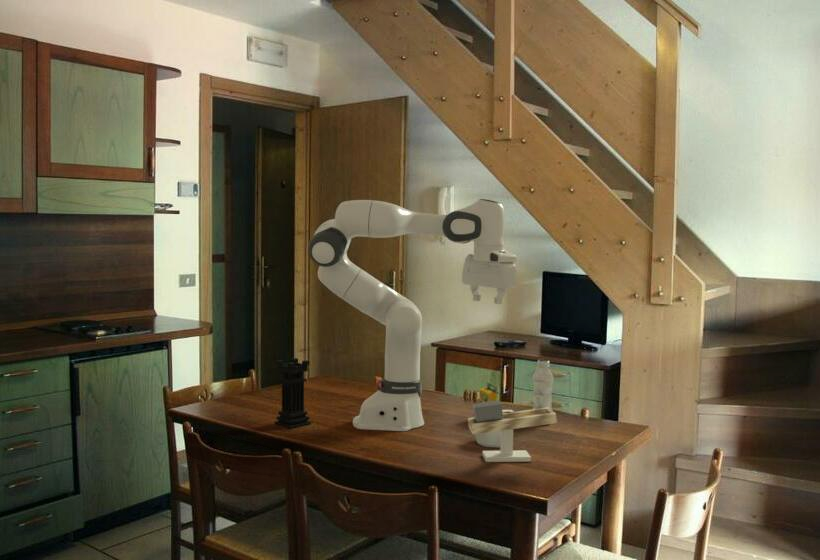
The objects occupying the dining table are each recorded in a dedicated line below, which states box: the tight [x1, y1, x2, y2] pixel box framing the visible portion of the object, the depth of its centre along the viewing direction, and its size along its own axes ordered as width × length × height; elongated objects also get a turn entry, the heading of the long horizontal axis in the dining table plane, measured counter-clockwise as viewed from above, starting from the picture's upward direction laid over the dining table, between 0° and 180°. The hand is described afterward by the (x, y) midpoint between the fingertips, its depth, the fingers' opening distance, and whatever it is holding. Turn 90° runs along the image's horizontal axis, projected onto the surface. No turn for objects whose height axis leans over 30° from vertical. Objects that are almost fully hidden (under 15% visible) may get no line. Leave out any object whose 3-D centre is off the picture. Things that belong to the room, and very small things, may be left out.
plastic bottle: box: [532, 359, 554, 410], centre depth 239 cm, size 6×7×20 cm
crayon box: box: [479, 382, 498, 403], centre depth 241 cm, size 7×3×12 cm, turn 20°
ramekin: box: [474, 431, 501, 448], centre depth 216 cm, size 11×11×5 cm
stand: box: [482, 409, 532, 463], centre depth 202 cm, size 12×6×13 cm, turn 94°
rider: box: [472, 399, 503, 423], centre depth 195 cm, size 7×4×5 cm, turn 94°
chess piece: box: [274, 357, 312, 430], centre depth 233 cm, size 8×8×20 cm
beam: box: [467, 407, 558, 435], centre depth 196 cm, size 22×7×3 cm, turn 94°
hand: (487, 302), depth 220 cm, fingers open, 8 cm apart
